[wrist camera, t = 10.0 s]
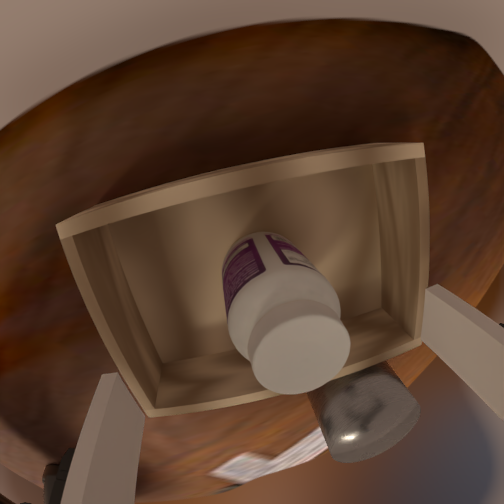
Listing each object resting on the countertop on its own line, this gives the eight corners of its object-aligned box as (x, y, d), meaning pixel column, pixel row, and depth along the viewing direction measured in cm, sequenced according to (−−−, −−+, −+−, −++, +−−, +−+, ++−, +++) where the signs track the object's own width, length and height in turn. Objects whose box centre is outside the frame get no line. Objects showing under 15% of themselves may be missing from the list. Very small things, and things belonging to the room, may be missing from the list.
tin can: (303, 397, 25) (331, 472, 17) (294, 343, 23) (329, 426, 14) (369, 374, 26) (411, 439, 17) (371, 318, 23) (428, 384, 15)
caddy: (158, 365, 22) (148, 417, 17) (96, 205, 18) (55, 224, 12) (384, 308, 23) (421, 344, 18) (373, 143, 19) (423, 142, 13)
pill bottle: (236, 314, 20) (255, 420, 11) (210, 245, 19) (209, 330, 10) (308, 289, 21) (370, 378, 11) (290, 218, 19) (359, 277, 10)
